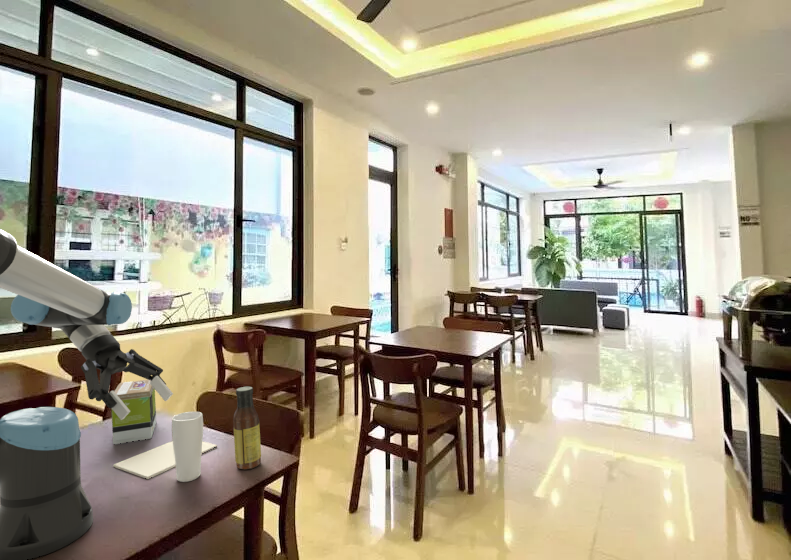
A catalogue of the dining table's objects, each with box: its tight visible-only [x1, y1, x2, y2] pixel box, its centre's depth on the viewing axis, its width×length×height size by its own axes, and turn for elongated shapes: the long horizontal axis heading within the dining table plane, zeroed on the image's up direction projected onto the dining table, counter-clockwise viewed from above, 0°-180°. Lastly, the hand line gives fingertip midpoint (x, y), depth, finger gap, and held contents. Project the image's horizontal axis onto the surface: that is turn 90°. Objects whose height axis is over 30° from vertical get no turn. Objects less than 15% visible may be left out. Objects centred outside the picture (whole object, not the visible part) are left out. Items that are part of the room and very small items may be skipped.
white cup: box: [171, 411, 204, 483], centre depth 101 cm, size 7×7×15 cm
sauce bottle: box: [232, 386, 262, 471], centre depth 107 cm, size 7×6×20 cm
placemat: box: [112, 440, 218, 480], centre depth 113 cm, size 20×14×1 cm
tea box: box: [110, 379, 157, 445], centre depth 129 cm, size 15×10×15 cm, turn 25°
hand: (149, 406), depth 103 cm, fingers open, 13 cm apart
